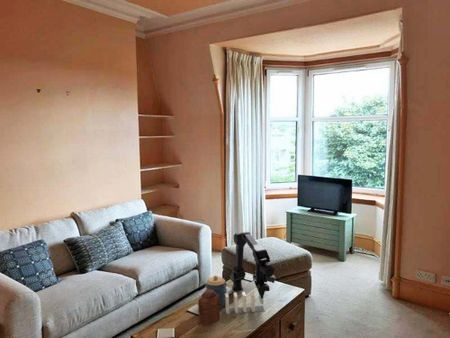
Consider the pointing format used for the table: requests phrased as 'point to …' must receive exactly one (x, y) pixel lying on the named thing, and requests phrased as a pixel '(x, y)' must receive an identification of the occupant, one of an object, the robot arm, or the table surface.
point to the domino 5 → (261, 299)
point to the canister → (217, 288)
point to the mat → (240, 310)
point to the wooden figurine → (209, 307)
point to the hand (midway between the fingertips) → (261, 296)
